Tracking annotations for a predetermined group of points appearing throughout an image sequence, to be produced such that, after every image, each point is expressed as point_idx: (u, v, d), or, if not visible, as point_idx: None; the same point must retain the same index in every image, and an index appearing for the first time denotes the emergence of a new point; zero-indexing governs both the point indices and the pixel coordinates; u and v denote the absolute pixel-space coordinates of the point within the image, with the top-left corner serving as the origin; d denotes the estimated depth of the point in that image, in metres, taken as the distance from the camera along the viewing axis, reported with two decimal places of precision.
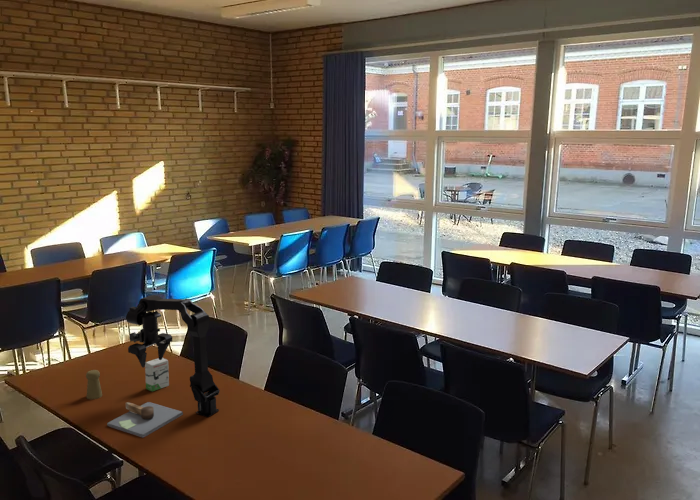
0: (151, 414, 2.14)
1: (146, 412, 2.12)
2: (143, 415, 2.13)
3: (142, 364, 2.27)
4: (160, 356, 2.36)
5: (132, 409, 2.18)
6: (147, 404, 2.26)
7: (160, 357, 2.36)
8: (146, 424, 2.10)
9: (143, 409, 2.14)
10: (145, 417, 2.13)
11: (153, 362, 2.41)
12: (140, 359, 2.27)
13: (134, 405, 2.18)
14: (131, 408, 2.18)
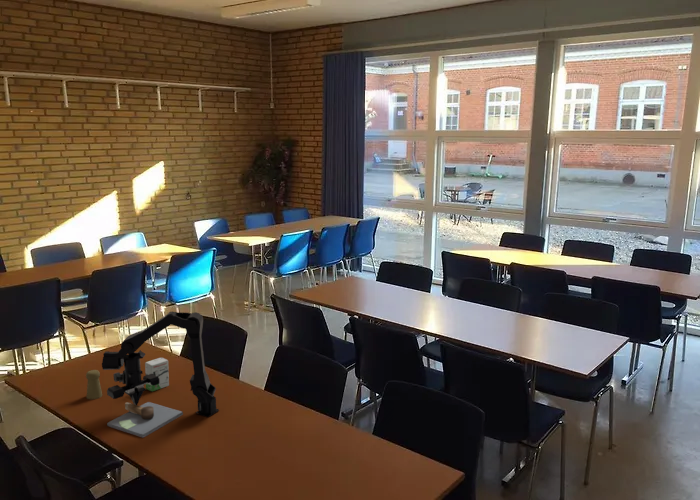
0: (151, 414, 2.14)
1: (146, 412, 2.12)
2: (143, 415, 2.13)
3: (134, 403, 2.19)
4: (135, 403, 2.19)
5: (132, 410, 2.18)
6: (147, 404, 2.26)
7: (135, 404, 2.20)
8: (146, 424, 2.10)
9: (143, 409, 2.14)
10: (145, 417, 2.13)
11: (153, 362, 2.41)
12: (132, 398, 2.19)
13: (134, 405, 2.18)
14: (131, 408, 2.18)
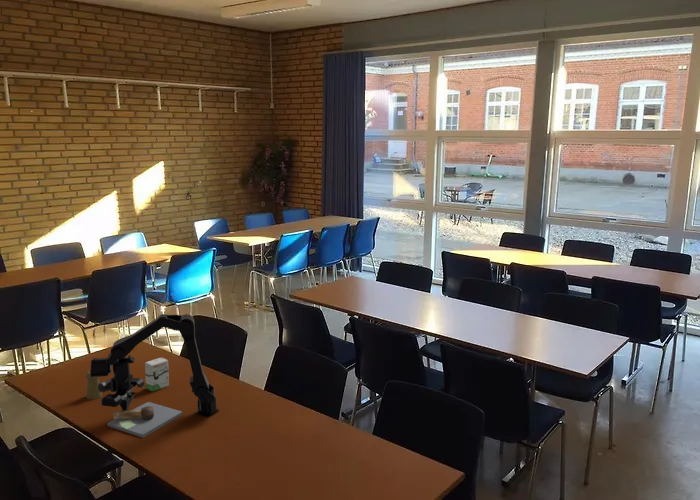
0: (153, 412, 2.15)
1: (150, 411, 2.13)
2: (147, 415, 2.13)
3: (124, 409, 2.14)
4: (125, 409, 2.14)
5: (126, 416, 2.13)
6: (147, 404, 2.26)
7: (125, 410, 2.15)
8: (146, 424, 2.10)
9: (144, 410, 2.13)
10: (149, 416, 2.13)
11: (153, 362, 2.41)
12: (122, 404, 2.13)
13: (126, 411, 2.13)
14: (124, 415, 2.13)
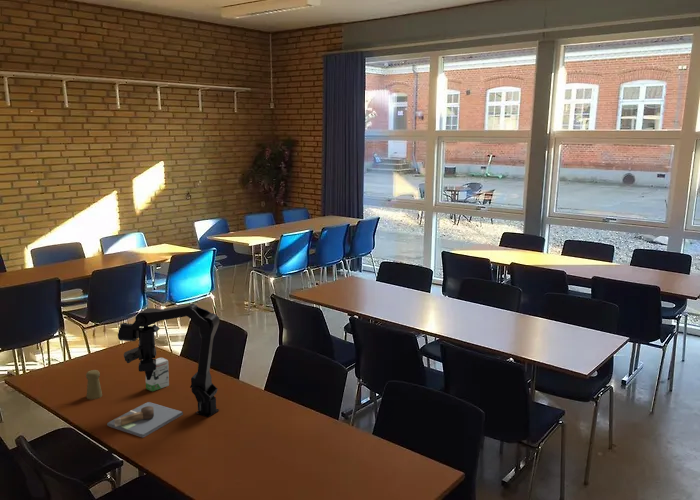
0: None
1: (152, 410, 2.14)
2: (151, 414, 2.13)
3: (149, 376, 2.22)
4: None
5: (128, 421, 2.09)
6: (147, 404, 2.26)
7: None
8: (146, 424, 2.10)
9: (146, 410, 2.13)
10: (152, 415, 2.14)
11: None
12: (148, 372, 2.21)
13: (127, 416, 2.10)
14: (126, 420, 2.09)
